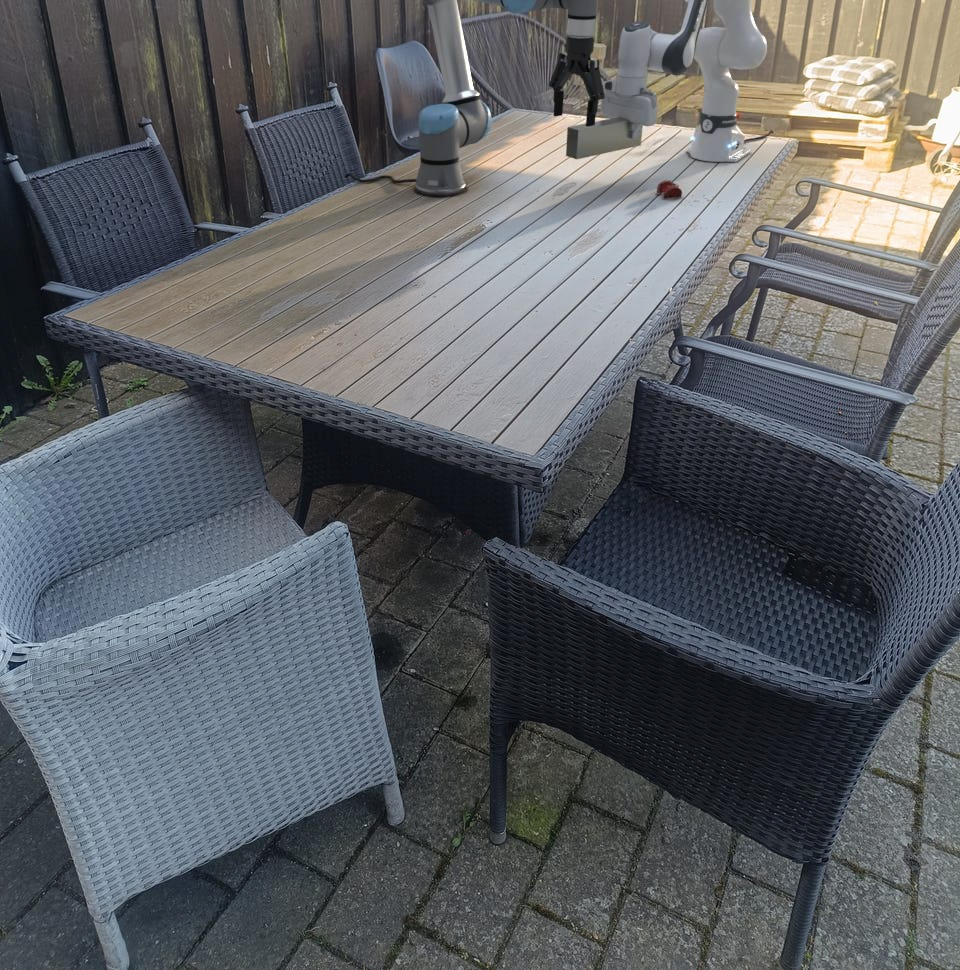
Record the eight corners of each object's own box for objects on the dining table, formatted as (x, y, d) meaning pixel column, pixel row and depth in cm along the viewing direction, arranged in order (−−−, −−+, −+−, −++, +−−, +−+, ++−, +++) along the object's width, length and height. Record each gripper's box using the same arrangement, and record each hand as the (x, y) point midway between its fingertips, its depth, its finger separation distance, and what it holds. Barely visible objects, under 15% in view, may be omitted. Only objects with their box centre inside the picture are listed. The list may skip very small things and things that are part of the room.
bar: (576, 159, 241) (578, 130, 236) (565, 156, 244) (567, 126, 239) (640, 145, 253) (643, 117, 249) (629, 142, 256) (632, 114, 252)
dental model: (673, 176, 254) (684, 184, 248) (671, 190, 257) (683, 198, 251) (655, 178, 253) (666, 186, 247) (654, 192, 256) (665, 200, 250)
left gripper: (623, 41, 218) (614, 128, 231) (560, 28, 234) (554, 110, 247) (602, 44, 215) (594, 131, 227) (539, 30, 231) (535, 113, 243)
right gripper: (665, 90, 238) (659, 141, 246) (614, 79, 251) (610, 128, 259) (649, 93, 235) (643, 145, 243) (599, 81, 248) (595, 131, 256)
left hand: (573, 120), depth 237 cm, fingers open, 13 cm apart
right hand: (626, 136), depth 251 cm, fingers closed on bar, 4 cm apart
